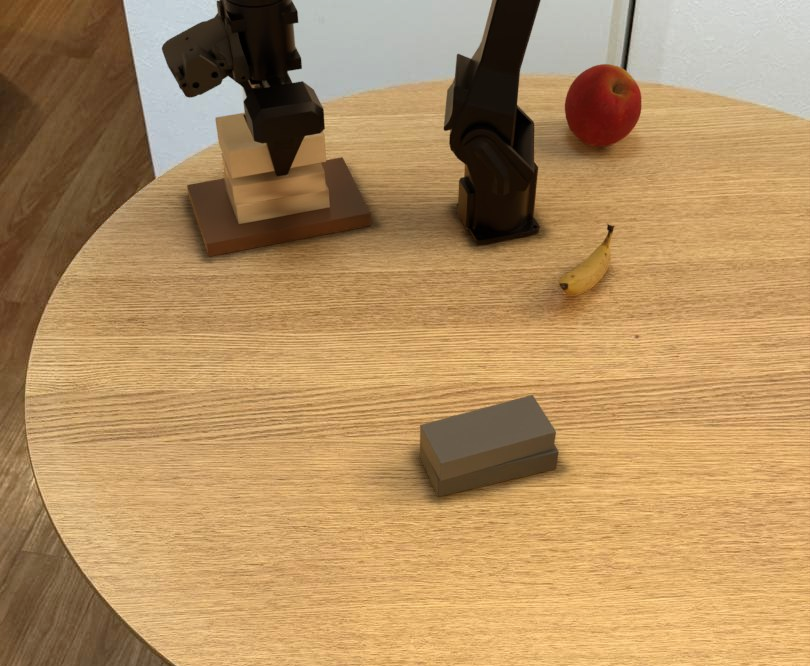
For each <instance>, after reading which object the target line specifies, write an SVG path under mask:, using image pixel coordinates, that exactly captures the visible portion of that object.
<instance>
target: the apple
mask: <svg viewBox="0 0 810 666" xmlns="http://www.w3.org/2000/svg"><path fill="white" fill-rule="evenodd" d="M641 113H642V93H641V89H640V87H639V85H638V83H637V81H636V80H635V78H633V76H632V75H631V74H630V73H629V72H628V71H627V70H626V69H624V68H623V67H621V66H618V65H614V64H610V63H609V64H607V63H602V64H596V65H593V66H591V67H589V68H586V69H585V70H583V71H582V72H580V74H578V75H577V77H575V78H574V80H573V81H572V82H571V84H570V86H569V88H568V90H567V93H566V95H565V101H564V115H565V120H566V123H567V125H568V128H569V130H570V131H571V133H572V134H573V135H574V136H575V137H576V138H577V139H578V140H580V141H581V142H582V143H584V144H585V145H587V146H589V147H607V146H612V145H615V144H616V143H618V142H620V141H622V140H623V139H624V138H626V137H627V136H628V135H629V134H630V133H631V132H632V131H633V130H634V129H635V127H636V125H637V124H638V122H639V120H640V117H641Z"/></svg>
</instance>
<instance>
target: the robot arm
mask: <svg viewBox="0 0 810 666" xmlns="http://www.w3.org/2000/svg"><path fill="white" fill-rule="evenodd" d="M540 5H541V0H491V5H490V8H489V10H488V15H487V19H486V23H485V27H484V31H483V34H482V38H481V41H480V43H479V45H478V47H477V49H476V50H475V51H474V54H473V55H472V56H471V57H468V56H466V55H463V54H460V53H457V54H456V58H455V59H456V60H455V70H454V71H455V72H454V78H453V80H452V82H451V84H450V85H449V87H448V88H447V90H446V98H445V99H446V101H445V109H444V110H445V111H444V121H443V131H445V132H447V131H448V132H449V142H448V144H449V145H448V146H449V150H450V151H451V152H452V153H453V155H454V156H455V157H456V159H458V160H459V161H460V162H462V163H463V164H464V169H463V171H464V172H463V173H464V174H463V177H462V176H461V177H460V178H459V180H458V196H457V197H458V198H457V202H456V211H457V215H458V217H459V219H460V221H461V223H462V224H463V226H464V227H465V229H466V230H468V231H469V233H470V235H471V237H472V238H473V240H474V242H475V243H476V244H478V245H485V244H490V243H496V242H500V241H505V240H511V239H515V238H520V237H525V236H530V235H536V234H538V233H540V229H541V226H540V225H539V223H538V221H537V220H536V218H535V217H534V215H535V207H536V206H535V205H536V194H537V186H538V176H539V175H538V174H539V166H538V165H537V164H536V162H535V121H534V120H533V119H532V118H531V117H530V116H529V115H528V114H527V113H526V112H525V110H523V109H522V108H521V107H520V106H519V104H518V98H519V87H520V75H521V69H522V65H523V63H524V59H525V55H526V51H527V48H528V44H529V41H530V38H531V35H532V31H533V27H534V24H535V22H536V21H535V20H536V17H537V14H538V11H539V7H540ZM216 8H217V9H216V10H217V13H216V14H215V15H214V17H212V18H209V19H207V20H204V21H201V22H198V23H197V24H195V25H193V26H191V27H189V28H187V29H185V30H183V31H181V32H180V33H178V34H176V35H174V36H173V37H171V38H169V39H168V40H166V41H165V42H164V43H163V44H162V46H161V50H162V54H163V57H164V60H165V62H166V65H167V68H168V69H169V70H170V73H171V75H172V76H173V78H174V79H175V81H176V83H177V84H178V85H177V86H178V87H179V89H180V90H181V91H182V93H183V95H184V96H185V97H186V98H189V99H191V98H196V97H197V96H201V95H203V94H205V93H207V92H209V91H211V90H212V89H215V88H216V87H219V86H221V84H222V83H223V80H224V79H226V78H228V77H229V78H230V79H232V80H233V81H234V82H235V83H237V84H238V85H240V87H242V89H243V92H244V94H245V98H244V99H243V101H242V102H243V108H244V109H243V110H244V113H245V114H244V115H243V116H244V118H245V121H246V123H247V126H248V128H249V130H250V132H251V134H252V137H253V139H254V141H255V142H259V143H262V144H263V143H266V145H267V149H268V152H269V155H270V158H271V161H272V165H273V168H274V171H275V174H276V176H284V175H287V174H288V173H289V170H290V168H291V166H292V163H293V161H294V159H295V157H296V154H297V152H298V150H299V147H300V145H301V143H302V141H303V139H304V137H305V136H309V135H314V134H320V133H321V132H322V131H323V132H324V130H325V129H326V125H325V124H326V123H325V111H324V110H325V109H324V107H323V105H322V103H321V101H320V99H319V97H318V95H317V93H316V91H315V89H314V88H313V87H311V86H310V85H309V84H307V83H306V82H304V81H303V80H301V81H296V82H293V81H292V79H291V77H290V75H289V72H290V71H297V70H302V69H303V65H302V64H303V62H302V56H301V54H300V53H299V51H298V49H297V47H296V40H295V37H296V36H295V26H294V24H299V12H298V9H297V7H296V5H295V3H294V2H293V0H216Z"/></svg>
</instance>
